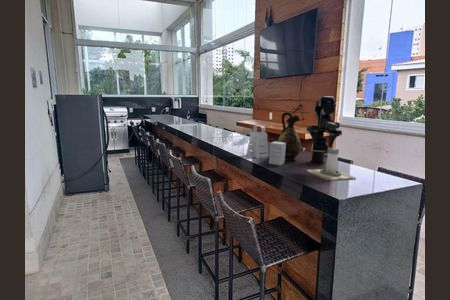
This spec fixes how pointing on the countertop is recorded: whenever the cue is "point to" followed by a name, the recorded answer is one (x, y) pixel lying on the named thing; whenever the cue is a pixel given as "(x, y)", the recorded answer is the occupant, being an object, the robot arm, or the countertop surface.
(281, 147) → the supplement box
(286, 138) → the ceramic jug
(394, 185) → the countertop surface
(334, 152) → the cylinder
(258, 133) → the grater
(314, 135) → the robot arm
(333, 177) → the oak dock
